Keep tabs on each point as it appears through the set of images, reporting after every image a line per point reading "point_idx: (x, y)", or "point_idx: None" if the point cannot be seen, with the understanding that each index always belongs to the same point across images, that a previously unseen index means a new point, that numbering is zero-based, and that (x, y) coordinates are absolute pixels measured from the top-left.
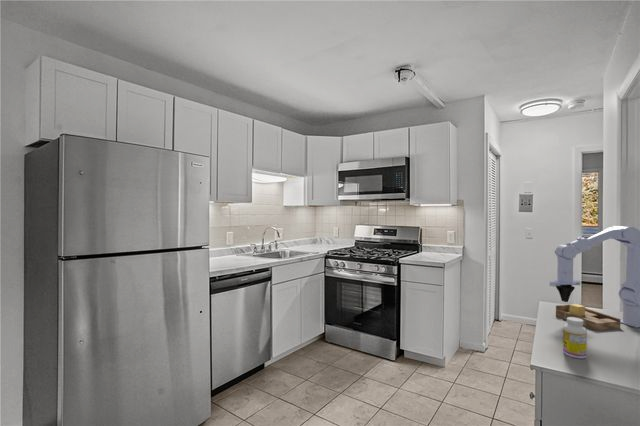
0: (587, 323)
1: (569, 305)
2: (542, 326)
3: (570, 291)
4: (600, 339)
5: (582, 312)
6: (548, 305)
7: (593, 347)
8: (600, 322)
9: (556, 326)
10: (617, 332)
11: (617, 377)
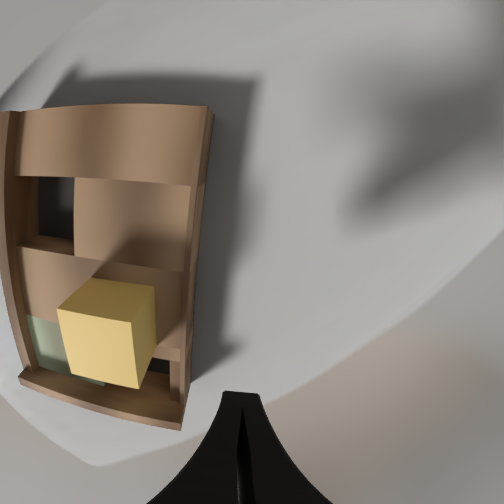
0: (203, 171)
1: (85, 399)
2: (442, 279)
3: (214, 490)
4: (348, 20)
5: (102, 290)
6: (99, 453)
7: (462, 14)
8: (142, 112)
9: (382, 255)
10: (115, 60)
11: None
